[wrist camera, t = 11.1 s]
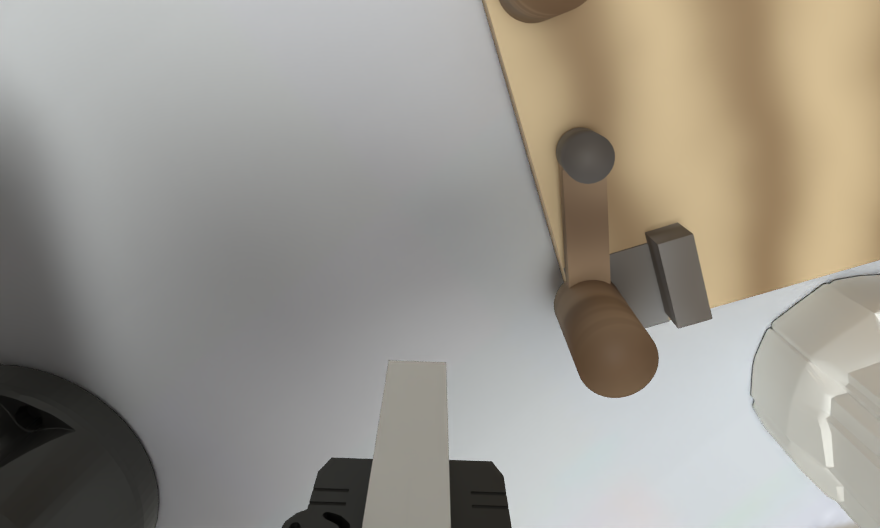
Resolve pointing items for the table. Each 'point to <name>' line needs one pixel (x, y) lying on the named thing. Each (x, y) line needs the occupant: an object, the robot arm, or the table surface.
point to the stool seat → (707, 137)
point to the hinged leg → (596, 276)
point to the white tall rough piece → (827, 391)
